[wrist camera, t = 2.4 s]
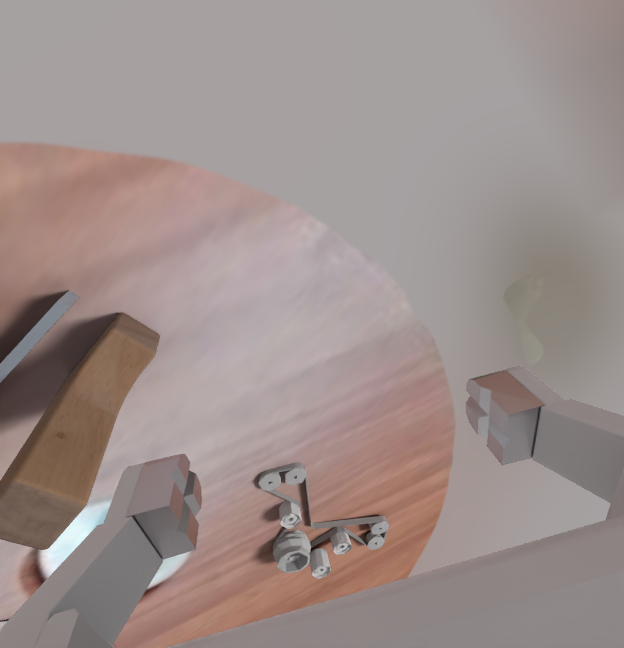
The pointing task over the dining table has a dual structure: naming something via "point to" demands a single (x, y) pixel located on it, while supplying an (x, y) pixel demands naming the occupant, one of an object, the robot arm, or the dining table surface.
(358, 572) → the dining table surface
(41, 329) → the wooden tray
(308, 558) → the pulley system
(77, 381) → the wooden block
